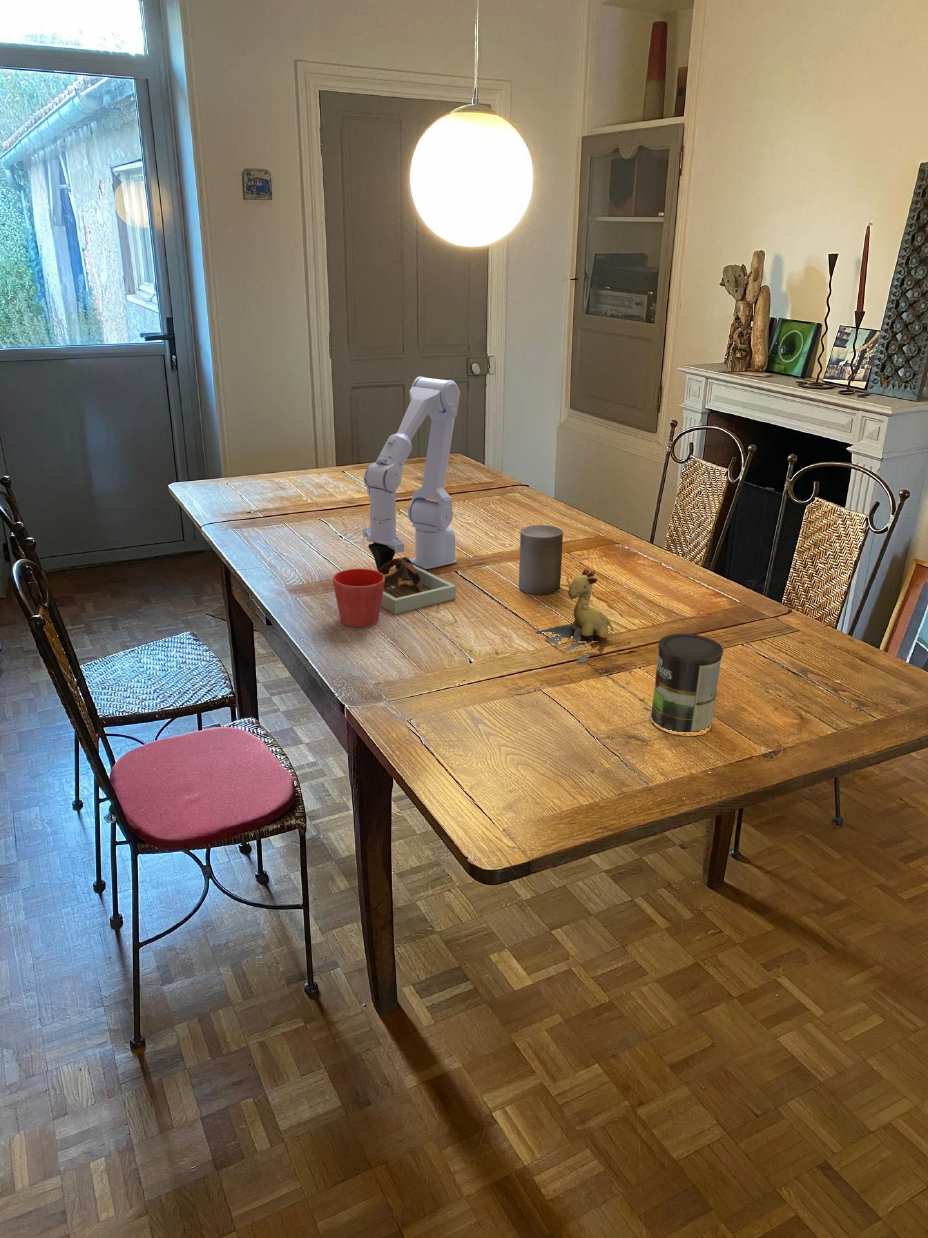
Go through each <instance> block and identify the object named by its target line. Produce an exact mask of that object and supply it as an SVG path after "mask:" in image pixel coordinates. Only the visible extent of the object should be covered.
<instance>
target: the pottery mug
mask: <svg viewBox="0 0 928 1238" xmlns="http://www.w3.org/2000/svg"><path fill="white" fill-rule="evenodd" d="M413 565H414V564H413V563H412V562H411V561H410V559H409V557H407V556H404V557H397V558H393V559H392V560H390V561H389V562H387V563H385V564H384V565H383V566H382V567H381V568H380V569H379V572H380V573H382V574H384V573H385V572H386V571H387V570H389V569H390V570H391V568H393V567H394V566H395V569H396V571H394V572H393V573H391V574H388V575H386V576H385V582H384V589H387V588H391V587H396V588H399V587H400V585H399V579H401V580H402V581H406V582H407V581H410V580H412V583H413V586H416V588H417V589H418V593H420V592H423V591H424V585H423V584H422V581H421V578H420V575H419V573H418V571H417V570H416V568H415V567H414V566H413ZM390 570H389V571H390ZM411 578H412V579H411Z"/></svg>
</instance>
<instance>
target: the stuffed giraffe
mask: <svg viewBox="0 0 928 1238" xmlns="http://www.w3.org/2000/svg"><path fill="white" fill-rule="evenodd" d="M595 574H596V570H591V571H590V569H589V568H588V567H586V568H585V569H584V570H583V571H582V572H581V575H577V576H576V577H575V578H574V579H573V580H572V582H571V584H570V586H569V588H568V591H567V594H568V598H570V600H574V599H577V600H576V604H575V606H574V608H573V617H574V620H573V622H572V623H569V624H564V625H561V626H559V625H558V626H554V627H549V628H547V629H543V630H538V631H535V632H536V633H535V634H537V635H538V634H544V633H542V632H552V634H559V635H560V634H561V635H560V636H558V635H556V636H555V637H551V638H550V637H548V638H549V639H546V638H545V639H546V640H547V643H549V644H550V643H558V642H559V641H562V640H561V639H562V638H571V636H573V639H575V640H576V641H586V642H587V643H590V642H592V641H598V642H603V641H604V642H606V640H607V638H608V634H609V631H608V630H609V629H610V631H612V632H613V631H614V630H615V629H614V627H613V625H612V623H611V620H610V619H609V617H608V616H607V615H606V614H604V612H602V611H601V610H600V609H597V608H595V607H592V606H590V605H589V603H590V599H591V595H592V589H593V585H594V584H596V583H597V582H598V578H597V577H594V576H595ZM608 626H609V627H610V628H609V627H608ZM540 632H541V633H540ZM553 632H554V633H553ZM547 634H548V633H547ZM555 639H556V640H555ZM557 639H559V640H557ZM573 639H572V640H573ZM546 640H545V641H546ZM550 641H551V642H550ZM576 641H575V642H576ZM598 642H597V643H598ZM561 643H562V642H561ZM576 643H577V642H576ZM566 645H567V644H566ZM572 645H573V646H570V647H567V650H572V649H575V647H577V646H580V645H585V644H584V643H577V644H574V643H573V644H572ZM560 646H561V645H559V646H553V647H554V648H556V647H560ZM585 647H586V646H585ZM564 649H566V648H564ZM576 649H577V648H576ZM593 649H594V648H593ZM591 650H592V649H591ZM586 654H588V655H583V654H582V655H581V656H582V657H581V656H580V657H579V659H576V661H577V662H576V661H575V662H576V664H578V663H582V662H583V663H585V662H586V661H587V659H588V658H589V657H590V656H591V655H592V654H591V653H586ZM590 654H591V655H590ZM563 655H565V653H564V654H563ZM589 655H590V656H589ZM587 656H589V657H587ZM604 656H605V655H604ZM609 656H610V655H609ZM609 656H608V657H609ZM608 657H607V658H608ZM610 657H611V656H610ZM603 658H605V659H606V657H603Z"/></svg>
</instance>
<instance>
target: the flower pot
mask: <svg viewBox="0 0 928 1238" xmlns="http://www.w3.org/2000/svg"><path fill="white" fill-rule="evenodd" d="M385 577H386V576H385V575H383V574H382V573H380V572H378V570H375V569H371V568H369V569H368V568H349V569H344V570H341V571H339V572H336V573H335V574H334V575H333V576H332V582H333V584H332V585H333V588H334V589H333V590H334V594H335V599H336V600H335V601H336V605H337V609H338V610H337V611H338V613H339V617H340V622H341V623H342V624H344V626H347V627H352V628H354V627H355V628H366V627H371V626H374V625H375V624H377V622H378V621H379V616H380V611H381V607H382V606H381V601H382V595H383V591H384V589H385V588H384V582H385Z"/></svg>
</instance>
